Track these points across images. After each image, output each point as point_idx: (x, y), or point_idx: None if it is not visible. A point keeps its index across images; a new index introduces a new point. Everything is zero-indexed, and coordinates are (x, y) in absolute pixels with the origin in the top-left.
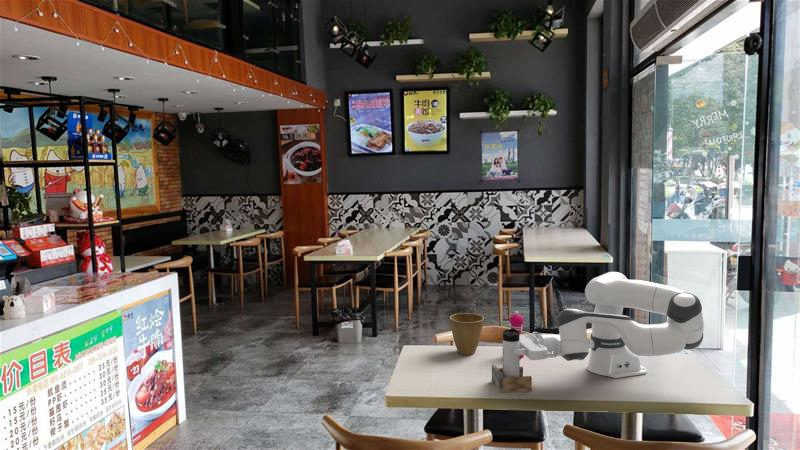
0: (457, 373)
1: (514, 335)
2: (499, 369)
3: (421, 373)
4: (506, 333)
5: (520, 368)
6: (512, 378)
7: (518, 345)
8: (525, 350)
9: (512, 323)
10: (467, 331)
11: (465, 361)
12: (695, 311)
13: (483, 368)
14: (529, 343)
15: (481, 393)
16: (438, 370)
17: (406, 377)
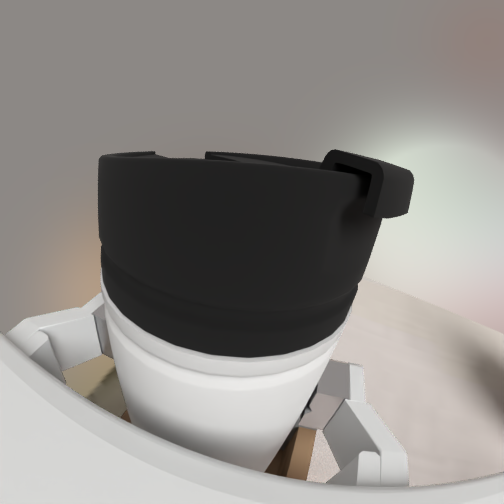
0: (397, 379)
1: (126, 153)
2: (293, 447)
3: (398, 315)
4: (262, 163)
5: None
6: (127, 410)
7: (108, 333)
8: (12, 342)
9: None
10: None
11: (489, 425)
12: None
13: (438, 465)
14: (27, 494)
15: None
16: (419, 348)
17: (374, 289)
